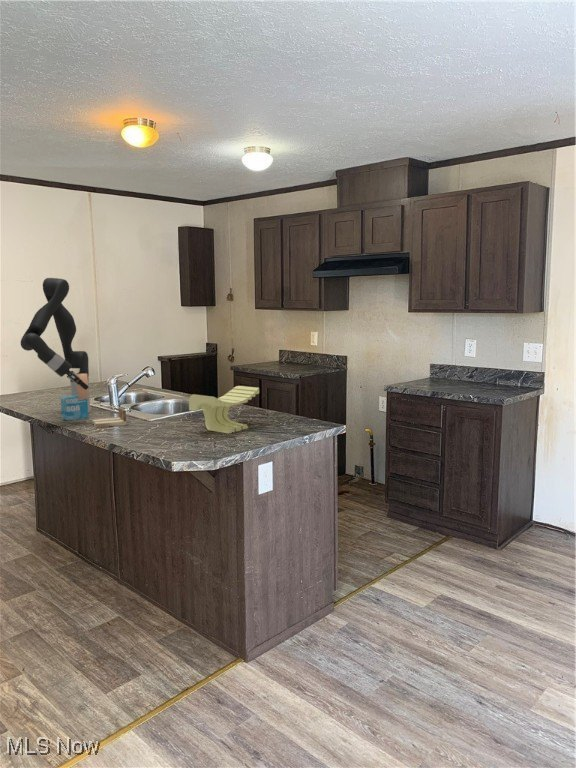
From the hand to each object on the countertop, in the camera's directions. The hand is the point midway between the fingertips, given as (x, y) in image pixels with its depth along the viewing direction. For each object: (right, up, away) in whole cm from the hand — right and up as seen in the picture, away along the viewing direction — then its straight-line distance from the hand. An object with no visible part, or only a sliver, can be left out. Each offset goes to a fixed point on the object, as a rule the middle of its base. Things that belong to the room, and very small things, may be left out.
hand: (86, 387), depth 288 cm
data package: (-10, -16, +12) cm, 22 cm away
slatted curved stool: (+70, -19, -16) cm, 75 cm away
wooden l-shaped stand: (+12, -18, -3) cm, 22 cm away
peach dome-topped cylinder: (-2, -5, 0) cm, 6 cm away
